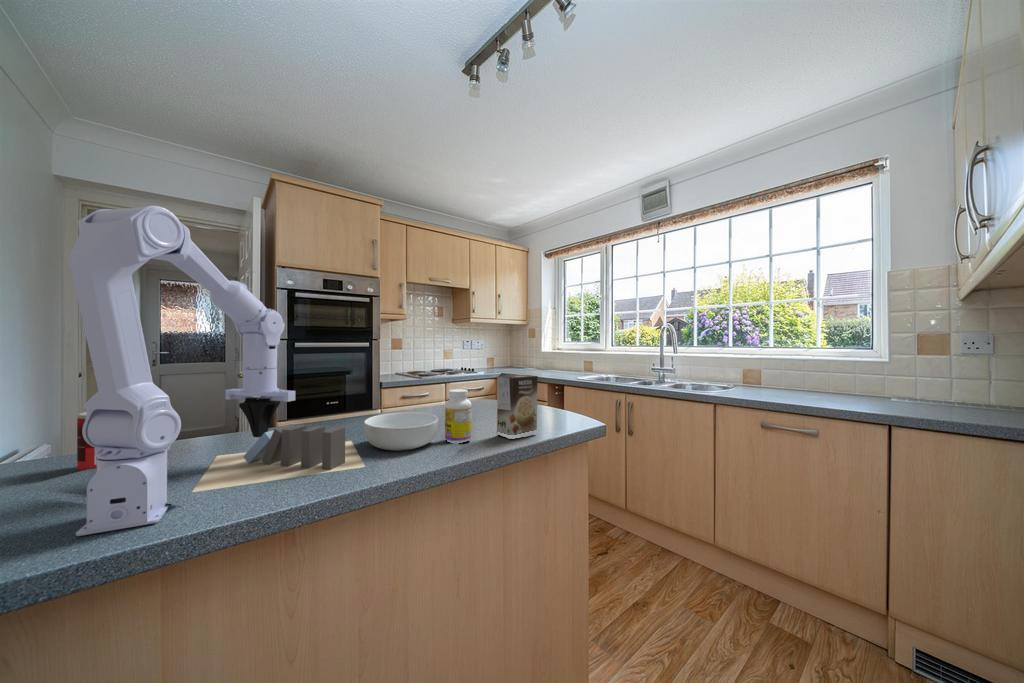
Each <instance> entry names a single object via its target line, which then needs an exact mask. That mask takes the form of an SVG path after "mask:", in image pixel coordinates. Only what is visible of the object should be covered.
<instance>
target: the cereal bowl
mask: <svg viewBox="0 0 1024 683" xmlns="http://www.w3.org/2000/svg"><path fill="white" fill-rule="evenodd" d="M363 430H364V435H365V438H366V440H367V442H368V443H369V444H370V445H372V446H374V447H375V448H378V449H381V450H384V451H393V452H395V451H408V450H414V449H417V448H420V447H424V446H425V445H428V444H429V443H430V442H432V441H433V439H434V438H435V437H436V436H437V433H438V430H439V417H438V415H435V414H432V413H428V412H418V411H416V412H415V411H403V412H401V411H400V412H389V413H384V414H378V415H375V416H371V417H368V418H366V419H365V420H364V422H363Z"/></svg>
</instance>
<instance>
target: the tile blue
mask: <svg viewBox="0 0 1024 683" xmlns="http://www.w3.org/2000/svg"><path fill="white" fill-rule="evenodd" d="M273 432H274V429H272V430H268V432H265V433H264V434H263V435H262V436H261V437H258V439H257V440H256V442H255V443H254V444H253V445H252V446H251V447H250V448H249V449H248V450H247V451H246V452H247V453H246V452H245V453H246V454H245V455H244V456H243V457H244V459H245V460H246V461H247V462H248V464H249V463H252V462H255V461H257V460H260V459H262V458H263V456H264V453H265V451H266V448H267V446H268V444H269V441H270V439H271V436H272V434H273Z"/></svg>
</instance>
